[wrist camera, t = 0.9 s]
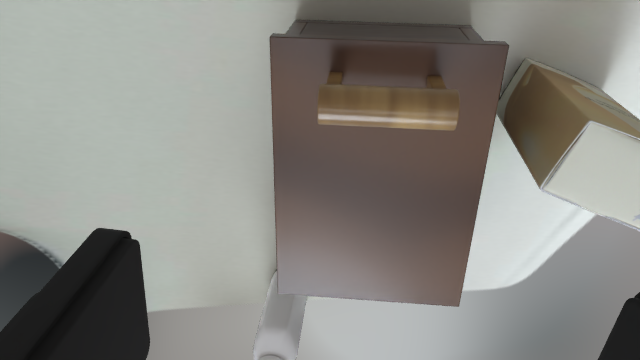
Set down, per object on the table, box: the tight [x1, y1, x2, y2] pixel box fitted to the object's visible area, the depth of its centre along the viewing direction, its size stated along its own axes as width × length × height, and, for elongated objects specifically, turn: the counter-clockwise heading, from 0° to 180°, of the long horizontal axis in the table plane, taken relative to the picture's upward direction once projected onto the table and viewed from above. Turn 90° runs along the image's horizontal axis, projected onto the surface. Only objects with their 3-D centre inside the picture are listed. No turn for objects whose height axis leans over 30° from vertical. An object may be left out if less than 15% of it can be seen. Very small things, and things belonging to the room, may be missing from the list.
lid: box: [270, 33, 509, 307], centre depth 27 cm, size 17×12×6 cm
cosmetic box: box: [496, 58, 640, 231], centre depth 30 cm, size 6×4×12 cm
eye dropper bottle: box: [253, 270, 307, 360], centre depth 40 cm, size 4×6×12 cm
